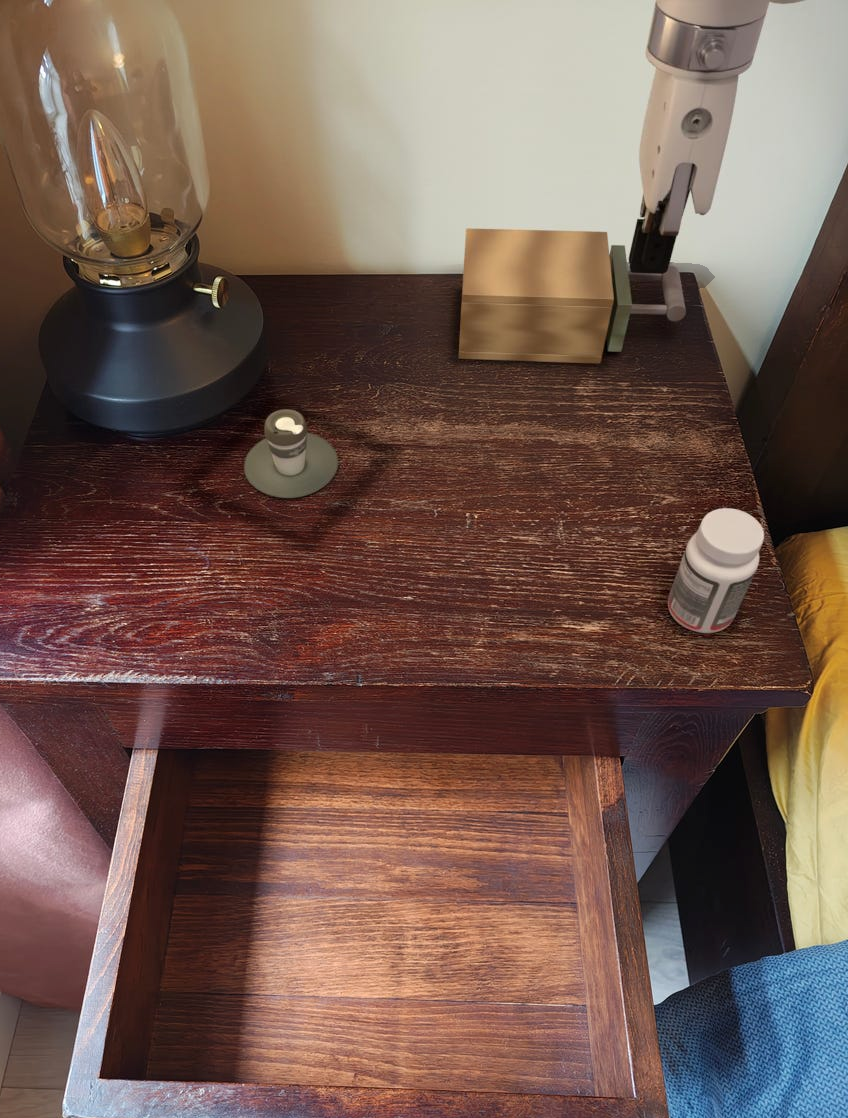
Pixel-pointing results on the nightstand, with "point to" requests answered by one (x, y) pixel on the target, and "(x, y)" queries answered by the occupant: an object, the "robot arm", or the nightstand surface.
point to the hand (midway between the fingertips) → (647, 267)
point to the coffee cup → (290, 458)
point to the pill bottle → (716, 570)
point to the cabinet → (535, 295)
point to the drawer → (624, 304)
